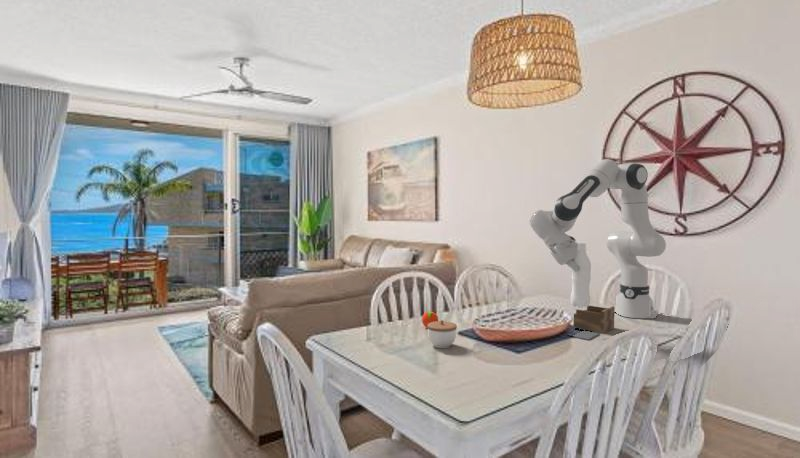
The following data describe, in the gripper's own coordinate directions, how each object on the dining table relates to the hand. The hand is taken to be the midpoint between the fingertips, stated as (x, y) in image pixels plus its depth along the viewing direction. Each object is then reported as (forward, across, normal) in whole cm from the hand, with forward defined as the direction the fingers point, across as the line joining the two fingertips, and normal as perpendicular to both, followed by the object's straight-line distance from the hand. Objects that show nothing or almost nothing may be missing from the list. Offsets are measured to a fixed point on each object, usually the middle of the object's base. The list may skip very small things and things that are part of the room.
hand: (582, 269), depth 178 cm
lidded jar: (-3, -50, +40) cm, 64 cm away
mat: (+18, 0, +19) cm, 26 cm away
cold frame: (+18, +14, +19) cm, 29 cm away
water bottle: (+10, 0, +11) cm, 15 cm away
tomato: (-16, -34, +54) cm, 66 cm away
